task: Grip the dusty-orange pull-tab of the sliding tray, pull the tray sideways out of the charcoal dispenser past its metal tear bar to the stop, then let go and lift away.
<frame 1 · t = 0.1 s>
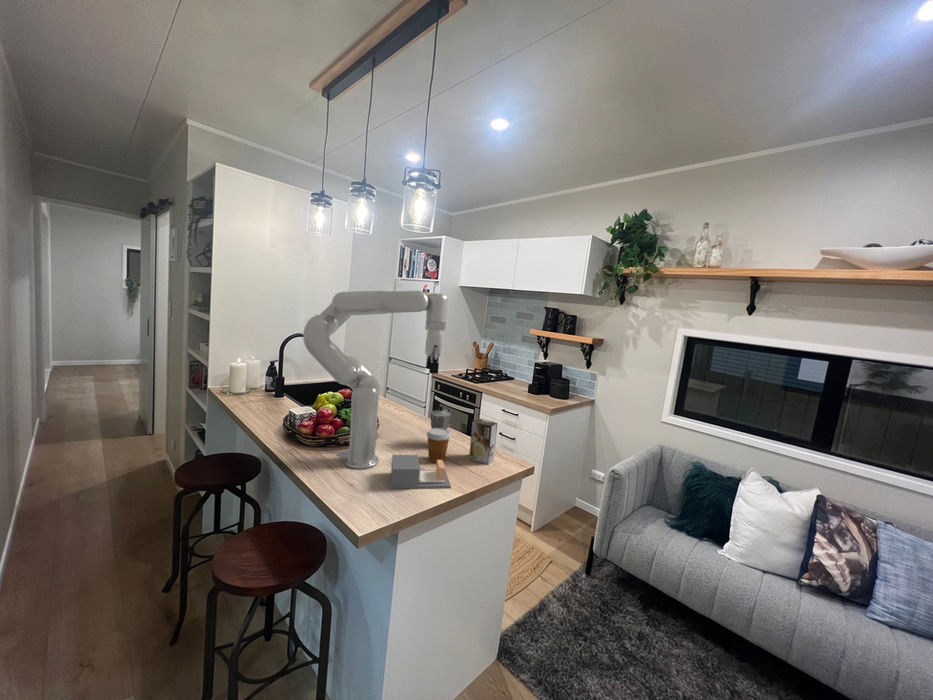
hand: (431, 370, 142), 37 cm above the countertop, tool pointing down, fingers open, 9 cm apart
sliding tray: (418, 470, 131), point 4 cm above the countertop, slide at 0.0 cm
dispenser: (420, 480, 131), on the countertop
coffeepot: (438, 445, 166), on the countertop
disposable coffee cup: (436, 460, 150), on the countertop
coffee box: (481, 459, 155), on the countertop
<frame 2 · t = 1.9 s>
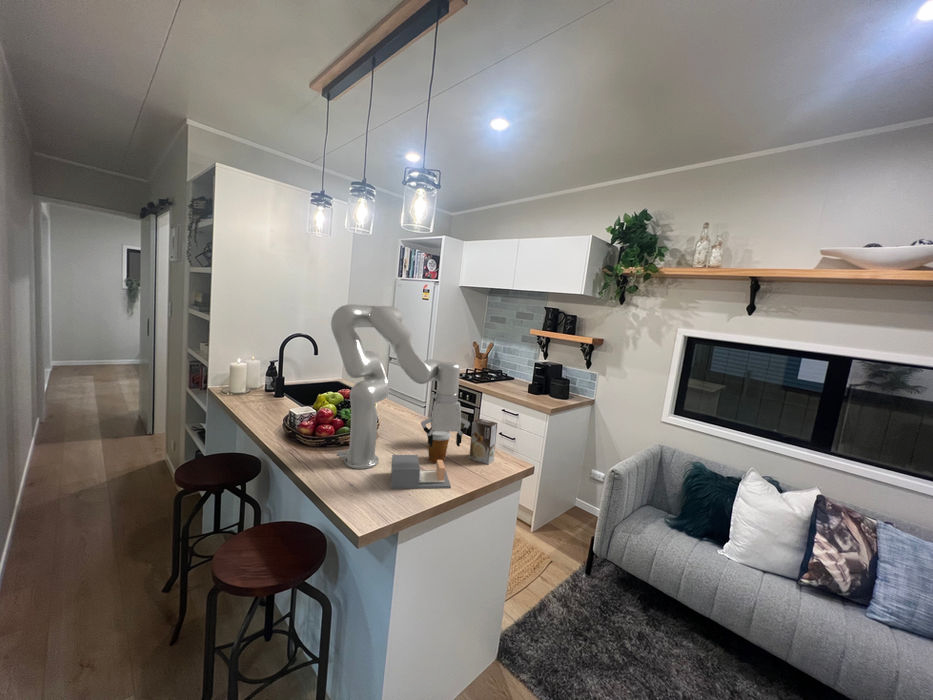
hand: (444, 445, 131), 13 cm above the countertop, tool pointing down, fingers open, 9 cm apart
nothing on the countertop moved.
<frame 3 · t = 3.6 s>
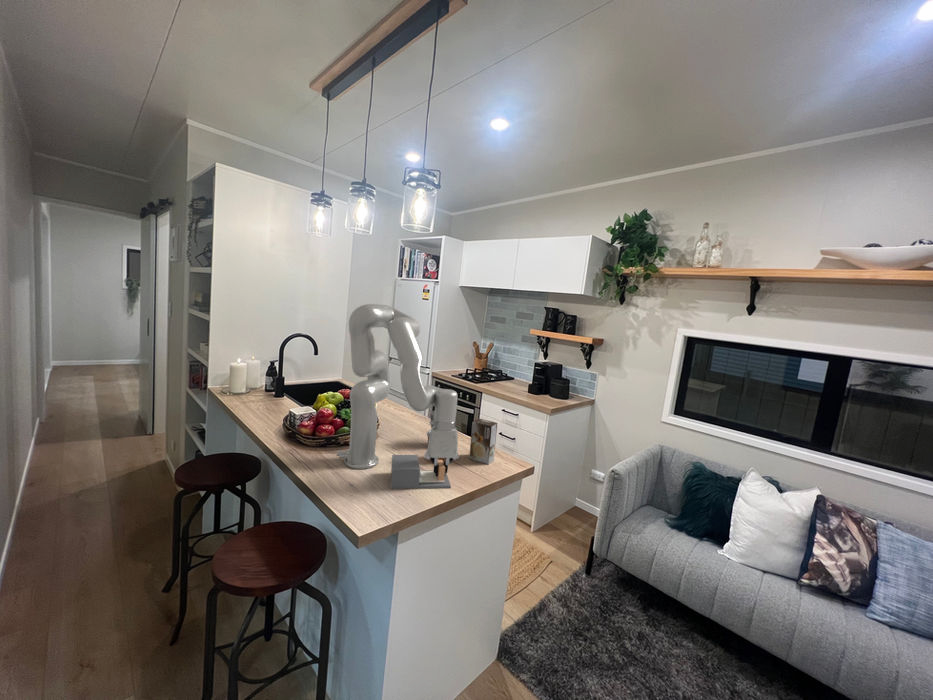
hand: (440, 474, 133), 2 cm above the countertop, tool pointing down, fingers closed on sliding tray, 2 cm apart
sliding tray: (418, 470, 131), point 4 cm above the countertop, slide at 0.0 cm, touching gripper
everything else where it was.
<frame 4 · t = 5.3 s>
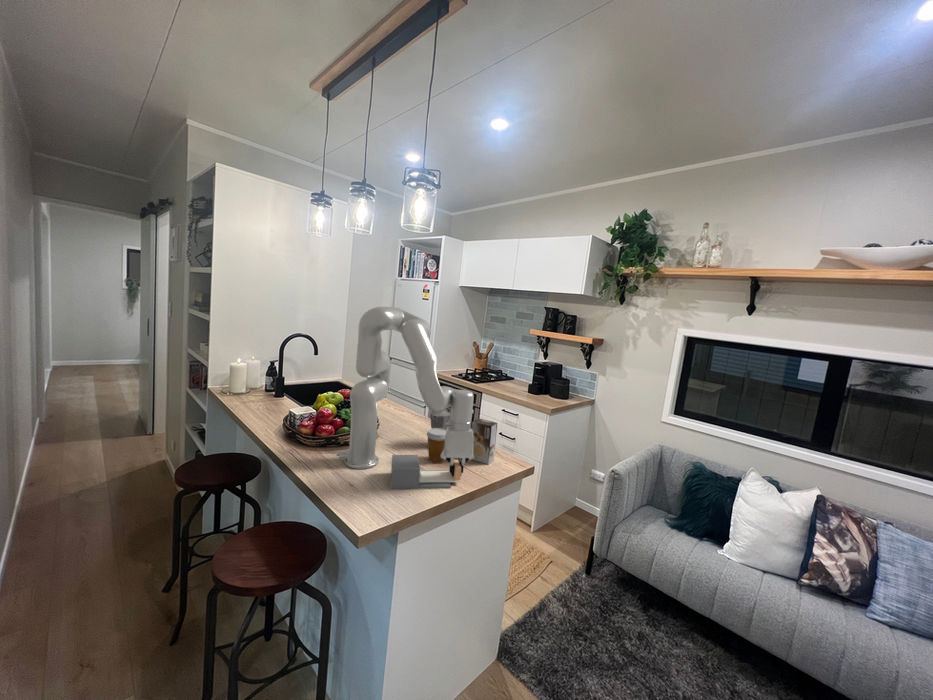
hand: (455, 474, 134), 2 cm above the countertop, tool pointing down, fingers closed on sliding tray, 2 cm apart
sliding tray: (434, 470, 132), point 4 cm above the countertop, slide at 5.7 cm, touching gripper
everything else where it was.
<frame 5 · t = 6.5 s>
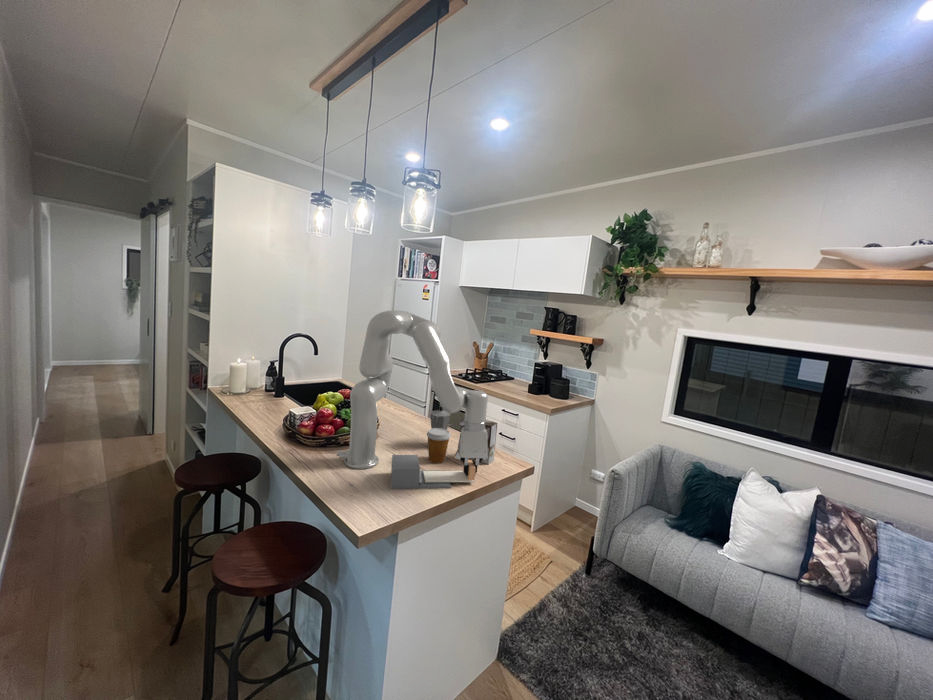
hand: (469, 474, 135), 2 cm above the countertop, tool pointing down, fingers closed on sliding tray, 2 cm apart
sliding tray: (449, 470, 133), point 4 cm above the countertop, slide at 10.9 cm, touching gripper
everything else where it was.
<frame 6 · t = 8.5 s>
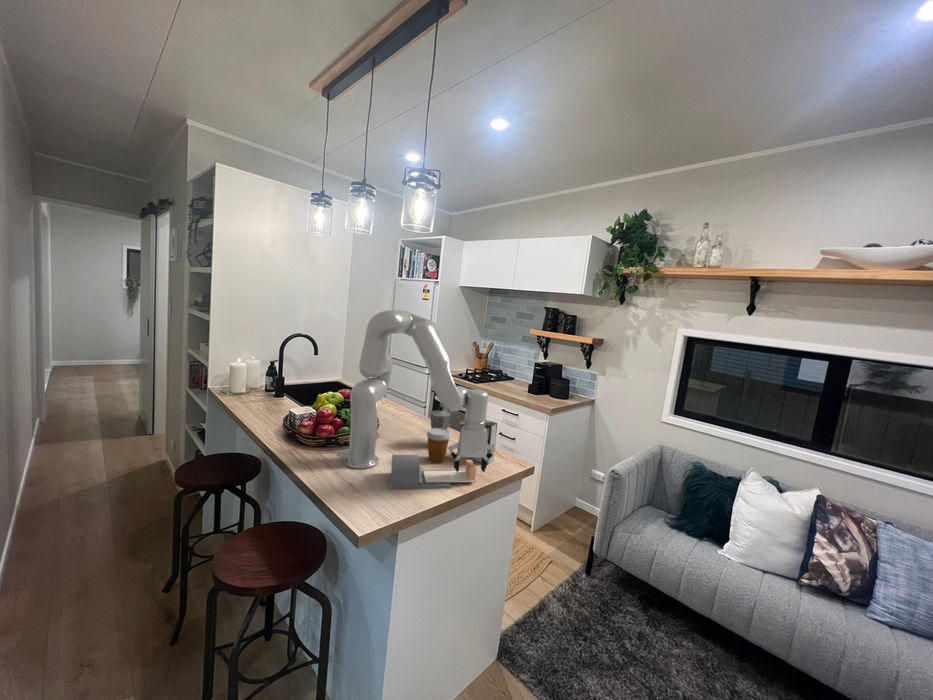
hand: (469, 470, 135), 4 cm above the countertop, tool pointing down, fingers open, 9 cm apart
sliding tray: (449, 470, 133), point 4 cm above the countertop, slide at 11.0 cm
everything else where it was.
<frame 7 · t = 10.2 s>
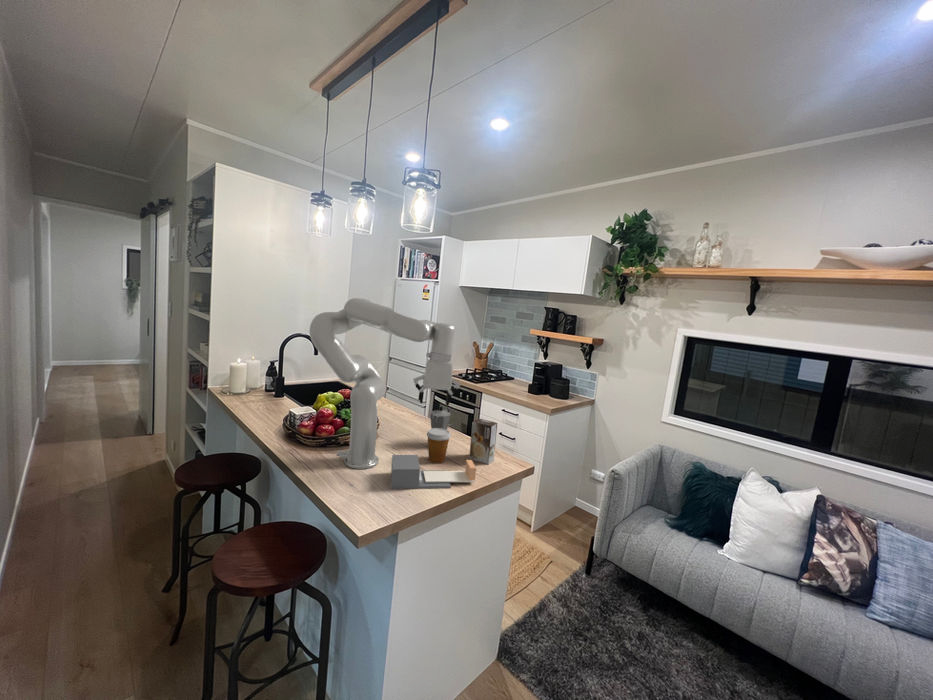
hand: (434, 403, 136), 26 cm above the countertop, tool pointing down, fingers open, 9 cm apart
nothing on the countertop moved.
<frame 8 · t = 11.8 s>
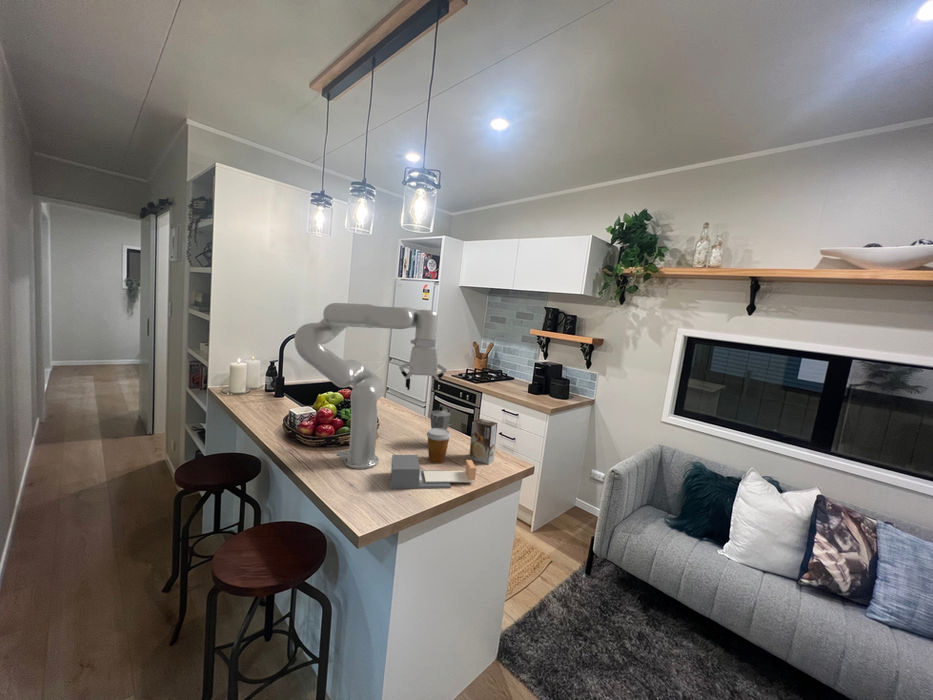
hand: (421, 389, 137), 30 cm above the countertop, tool pointing down, fingers open, 9 cm apart
nothing on the countertop moved.
at the end: sliding tray slide at 11.0 cm; the gripper is holding nothing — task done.
